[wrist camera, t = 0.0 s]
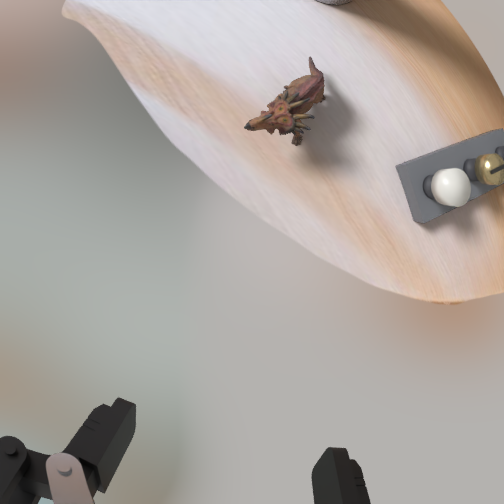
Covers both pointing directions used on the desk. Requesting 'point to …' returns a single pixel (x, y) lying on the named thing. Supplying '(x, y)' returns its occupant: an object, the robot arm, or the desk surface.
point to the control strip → (454, 156)
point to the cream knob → (451, 187)
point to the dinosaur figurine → (292, 106)
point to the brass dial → (490, 169)
